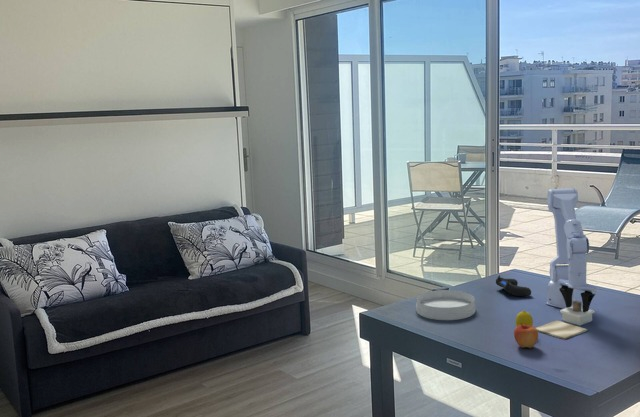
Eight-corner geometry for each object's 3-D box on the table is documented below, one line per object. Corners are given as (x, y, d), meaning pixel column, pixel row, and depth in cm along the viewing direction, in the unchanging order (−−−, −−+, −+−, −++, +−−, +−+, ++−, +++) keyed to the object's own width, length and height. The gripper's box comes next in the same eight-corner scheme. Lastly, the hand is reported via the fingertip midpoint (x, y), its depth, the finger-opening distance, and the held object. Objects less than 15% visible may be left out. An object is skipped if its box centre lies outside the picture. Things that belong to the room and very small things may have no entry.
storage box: (562, 320, 226) (562, 312, 225) (574, 316, 230) (574, 308, 229) (579, 325, 220) (579, 317, 219) (592, 320, 224) (592, 312, 223)
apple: (540, 351, 200) (540, 327, 199) (515, 351, 201) (515, 327, 200) (536, 342, 207) (536, 319, 206) (512, 342, 208) (512, 319, 207)
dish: (451, 325, 228) (450, 311, 227) (404, 312, 245) (403, 299, 244) (487, 309, 242) (487, 296, 242) (440, 298, 259) (440, 286, 258)
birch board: (534, 329, 218) (534, 328, 218) (556, 321, 225) (556, 320, 225) (564, 339, 208) (564, 337, 208) (587, 330, 215) (587, 329, 215)
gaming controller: (510, 292, 270) (490, 281, 268) (517, 280, 269) (497, 269, 268) (527, 304, 253) (506, 293, 252) (534, 291, 253) (513, 280, 251)
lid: (559, 314, 226) (560, 301, 225) (574, 309, 230) (574, 297, 229) (580, 320, 219) (580, 307, 218) (594, 314, 223) (594, 302, 222)
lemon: (524, 337, 212) (524, 314, 211) (512, 332, 217) (512, 310, 216) (536, 334, 214) (536, 311, 213) (524, 329, 219) (524, 307, 218)
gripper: (552, 269, 226) (552, 306, 228) (589, 277, 214) (588, 316, 216) (564, 266, 229) (564, 302, 232) (601, 273, 217) (601, 312, 220)
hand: (577, 309), depth 224 cm, fingers open, 6 cm apart
